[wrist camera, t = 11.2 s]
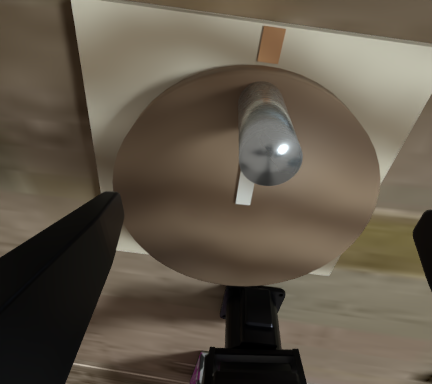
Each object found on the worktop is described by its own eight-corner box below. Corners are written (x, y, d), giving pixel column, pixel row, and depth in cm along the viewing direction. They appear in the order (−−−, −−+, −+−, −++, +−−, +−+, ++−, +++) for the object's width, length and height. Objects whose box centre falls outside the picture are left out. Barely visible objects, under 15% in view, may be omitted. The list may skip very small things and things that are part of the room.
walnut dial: (323, 276, 28) (350, 368, 21) (133, 258, 28) (102, 344, 21) (419, 80, 17) (532, 149, 10) (104, 49, 17) (22, 98, 10)
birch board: (325, 263, 29) (329, 276, 28) (114, 238, 29) (109, 250, 28) (440, 44, 17) (456, 50, 16) (82, -6, 17) (69, -4, 15)
